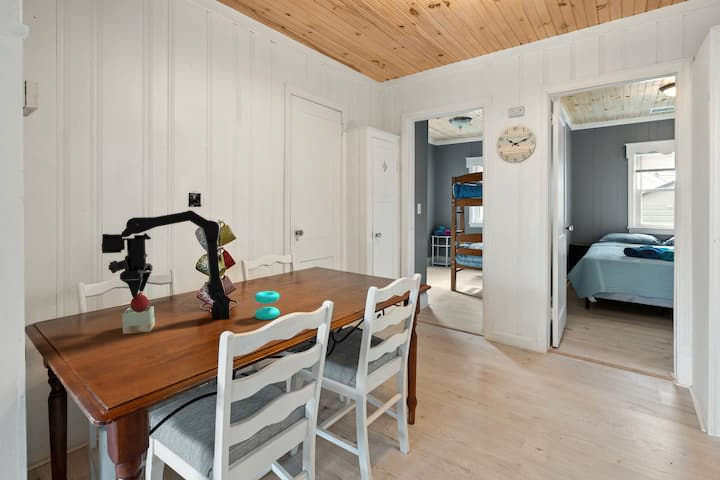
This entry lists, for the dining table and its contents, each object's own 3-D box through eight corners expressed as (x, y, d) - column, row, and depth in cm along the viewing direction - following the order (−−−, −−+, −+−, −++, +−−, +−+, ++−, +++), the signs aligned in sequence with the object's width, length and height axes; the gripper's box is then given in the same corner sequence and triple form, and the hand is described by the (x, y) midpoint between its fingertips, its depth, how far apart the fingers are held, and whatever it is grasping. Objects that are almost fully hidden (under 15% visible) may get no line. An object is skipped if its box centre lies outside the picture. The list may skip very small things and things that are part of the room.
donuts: (259, 297, 146) (250, 292, 154) (260, 322, 147) (251, 316, 155) (283, 294, 152) (273, 289, 160) (283, 318, 153) (273, 312, 161)
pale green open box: (154, 317, 143) (153, 306, 142) (149, 324, 135) (149, 312, 134) (128, 319, 140) (128, 307, 139) (122, 326, 132) (122, 314, 131)
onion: (139, 316, 134) (140, 294, 133) (126, 314, 135) (126, 292, 135) (152, 312, 140) (152, 291, 139) (139, 310, 141) (139, 289, 140)
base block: (154, 325, 143) (154, 317, 143) (149, 332, 135) (149, 324, 135) (129, 327, 140) (129, 319, 140) (123, 334, 132) (122, 326, 132)
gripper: (119, 249, 142) (120, 289, 143) (101, 256, 124) (103, 302, 125) (152, 249, 145) (153, 288, 146) (139, 255, 127) (140, 300, 129)
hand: (138, 294), depth 137 cm, fingers open, 9 cm apart
